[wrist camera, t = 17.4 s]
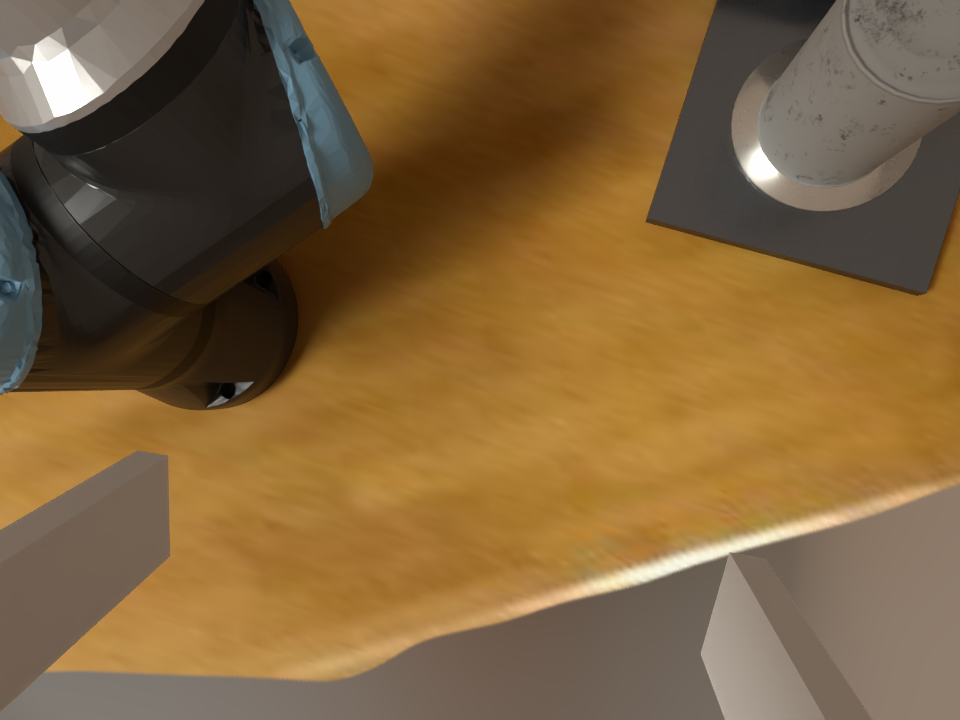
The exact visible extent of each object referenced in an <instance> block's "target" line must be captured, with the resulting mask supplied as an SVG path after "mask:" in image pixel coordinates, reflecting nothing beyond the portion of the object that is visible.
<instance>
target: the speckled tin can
mask: <svg viewBox="0 0 960 720" xmlns="http://www.w3.org/2000/svg"><path fill="white" fill-rule="evenodd" d="M959 112H960V0H836V1H835V3H834V4H833V6H832V7H831V8H830V10H829V11H828V12H827V14H826V15H825V17H824V18H823V19H822V21H821V22H820V23H819V25H818V26H817V27H816V29H815V30H814V32H813V33H812V34H811V36H810V37H809V38H808V40H807V41H806V42H805V44H804V45H803V47H802V48H801V49H800V51H799V52H798V53H797V55H796V56H795V57H794V59H793V60H792V62H791V63H790V64H789V66H788V67H787V68H786V70H785V71H784V73H783V74H782V75H781V77H780V78H779V79H778V80H777V81H776V82H775V83H774V84H773V85H772V87H771V88H770V90H769V91H768V92H767V94H766V95H765V97H764V99H763V102H762V104H761V106H760V109H759V114H758V120H757V131H758V139H759V142H760V145H761V148H762V151H763V153H764V155H765V156H766V158H767V159H768V161H769V163H770V164H771V165H772V166H773V167H774V168H775V169H776V170H777V171H778V172H779V173H780V174H782V175H784V176H785V177H787V178H789V179H790V180H792V181H794V182H797V183H800V184H803V185H805V186H810V187H818V188H831V187H840V186H844V185H847V184H850V183H854V182H856V181H858V180H860V179H862V178H863V177H865V176H867V175H869V174H870V173H871V172H873V171H874V170H875V169H876V168H877V167H878V166H880V165H881V164H883V163H884V162H886V161H887V160H889V159H890V158H892V157H893V156H895V155H896V154H898V153H899V152H901V151H902V150H904V149H905V148H907V147H908V146H910V145H911V144H913V143H914V142H916V141H917V140H919V139H920V138H922V137H923V136H924V135H926V134H927V133H929V132H930V131H932V130H933V129H935V128H936V127H938V126H939V125H941V124H942V123H944V122H945V121H947V120H948V119H950V118H951V117H953V116H954V115H956V114H957V113H959Z"/></svg>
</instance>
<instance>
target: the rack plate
mask: <svg viewBox="0 0 960 720" xmlns="http://www.w3.org/2000/svg"><path fill="white" fill-rule="evenodd" d="M835 1H836V0H717V2H716V5H715V8H714V11H713V14H712V17H711V20H710V23H709V26H708V30H707V33H706V36H705V39H704V42H703V45H702V48H701V51H700V54H699V57H698V61H697V64H696V67H695V70H694V73H693V76H692V79H691V82H690V85H689V88H688V92H687V95H686V98H685V101H684V104H683V107H682V110H681V113H680V116H679V120H678V123H677V126H676V129H675V132H674V135H673V138H672V141H671V144H670V147H669V151H668V154H667V157H666V160H665V163H664V166H663V169H662V172H661V175H660V178H659V182H658V185H657V188H656V191H655V194H654V197H653V200H652V203H651V206H650V209H649V213H648V216H647V219H646V222H647V223H651V224H655V225H658V226H662V227H666V228H670V229H673V230H677V231H681V232H684V233H688V234H692V235H695V236H699V237H703V238H706V239H710V240H714V241H718V242H721V243H725V244H729V245H732V246H736V247H740V248H743V249H747V250H751V251H754V252H758V253H762V254H765V255H769V256H773V257H777V258H780V259H784V260H788V261H791V262H795V263H799V264H802V265H806V266H810V267H813V268H817V269H821V270H825V271H828V272H832V273H836V274H839V275H843V276H847V277H850V278H854V279H858V280H861V281H865V282H869V283H872V284H876V285H880V286H884V287H887V288H891V289H895V290H898V291H902V292H906V293H909V294H913V295H917V296H918V295H922V294H926V293H927V290H928V287H929V284H930V280H931V277H932V274H933V271H934V268H935V265H936V262H937V259H938V256H939V253H940V249H941V246H942V243H943V240H944V237H945V234H946V231H947V228H948V225H949V222H950V218H951V215H952V212H953V209H954V206H955V203H956V200H957V197H958V194H959V191H960V112H959V113H957V114H956V115H954V116H953V117H951V118H950V119H948V120H947V121H945V122H944V123H942V124H941V125H939V126H938V127H936V128H935V129H933V130H932V131H930V132H929V133H927V134H926V135H924V136H923V137H922V138H920V139H919V140H917V141H916V142H914V143H913V144H911V145H910V146H908V147H907V148H905V149H904V150H902V151H901V152H899V153H898V154H896V155H895V156H893V157H892V158H890V159H889V160H887V161H886V162H884V163H883V164H881V165H880V166H878V167H877V168H876V169H875V170H874V171H873V172H871V173H870V174H869V175H867V176H865V177H863V178H862V179H860V180H858V181H856V182H854V183H850V184H847V185H844V186H840V187H831V188H818V187H810V186H805V185H803V184H800V183H797V182H794V181H792V180H790V179H789V178H787V177H785V176H784V175H782V174H780V173H779V172H778V171H777V170H776V169H775V168H774V167H773V166H772V165H771V164H770V163H769V161H768V159H767V158H766V156H765V155H764V153H763V151H762V148H761V145H760V142H759V139H758V131H757V120H758V114H759V109H760V106H761V104H762V102H763V99H764V97H765V95H766V94H767V92H768V91H769V90H770V88H771V87H772V85H773V84H774V83H775V82H776V81H777V80H778V79H779V78H780V77H781V75H782V74H783V73H784V71H785V70H786V68H787V67H788V66H789V64H790V63H791V62H792V60H793V59H794V57H795V56H796V55H797V53H798V52H799V51H800V49H801V48H802V47H803V45H804V44H805V42H806V41H807V40H808V38H809V37H810V36H811V34H812V33H813V32H814V30H815V29H816V27H817V26H818V25H819V23H820V22H821V21H822V19H823V18H824V17H825V15H826V14H827V12H828V11H829V10H830V8H831V7H832V6H833V4H834V3H835Z"/></svg>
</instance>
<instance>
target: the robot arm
mask: <svg viewBox="0 0 960 720" xmlns="http://www.w3.org/2000/svg"><path fill="white" fill-rule="evenodd" d="M0 114H1V116H2V117H3V118H4V119H5V121H6V122H7V123H9V124H10V125H11V126H13V127H14V128H15V129H17V130H18V131H20V132H21V133H22V134H24V135H23V136H22V137H20V138H19V139H18V140H16V141H15V142H13V143H12V144H11V145H9V146H8V147H7V148H5V149H4V150H3V151H1V152H0V395H3V393H9V392H43V391H93V390H137V391H139V392H141V393H143V394H146V395H148V396H150V397H153V398H155V399H157V400H159V401H162V402H164V403H166V404H169V405H171V406H175V407H178V408H183V409H189V410H214V409H224V408H230V407H234V406H237V405H240V404H243V403H245V402H247V401H249V400H251V399H253V398H254V397H256V396H257V395H259V394H260V393H262V392H263V391H264V390H265V389H266V388H268V387H269V386H270V385H271V384H272V383H273V382H274V380H275V379H276V378H277V377H278V375H279V374H280V373H281V371H282V370H283V368H284V367H285V365H286V363H287V361H288V359H289V357H290V354H291V352H292V349H293V346H294V342H295V338H296V332H297V322H298V314H297V305H296V299H295V295H294V291H293V288H292V286H291V283H290V281H289V279H288V277H287V275H286V273H285V271H284V270H283V268H282V267H281V266H280V264H279V263H278V262H277V261H276V258H278V257H279V256H281V255H282V254H284V253H285V252H287V251H288V250H290V249H291V248H293V247H294V246H295V245H297V244H298V243H300V242H301V241H303V240H304V239H306V238H307V237H309V236H310V235H312V234H313V233H315V232H316V231H318V230H319V229H320V228H321V229H324V230H325V229H326V228H328V227H329V225H330V224H331V222H332V219H334V218H335V217H336V216H338V215H339V214H340V213H342V212H343V211H344V210H346V209H347V208H348V207H350V206H351V205H352V204H353V203H355V202H356V201H357V200H359V199H360V198H361V197H363V196H364V195H365V194H366V192H367V191H368V190H369V188H370V186H371V183H372V179H373V175H374V170H373V162H372V159H371V157H370V154H369V152H368V150H367V148H366V146H365V144H364V142H363V140H362V138H361V136H360V134H359V132H358V130H357V128H356V126H355V124H354V122H353V120H352V118H351V116H350V114H349V112H348V110H347V108H346V106H345V105H344V103H343V101H342V99H341V97H340V95H339V93H338V91H337V89H336V88H335V86H334V84H333V82H332V80H331V78H330V76H329V74H328V73H327V71H326V69H325V67H324V65H323V63H322V62H321V60H320V58H319V56H318V55H317V53H316V51H315V50H314V47H313V45H312V43H311V41H310V39H309V38H308V36H307V34H306V32H305V30H304V28H303V26H302V24H301V22H300V20H299V18H298V16H297V14H296V13H295V11H294V9H293V7H292V5H291V3H290V1H289V0H0ZM169 557H170V533H169V485H168V456H166V455H160V454H154V453H148V452H142V451H136V452H134V453H132V454H131V455H129V456H127V457H126V458H124V459H122V460H120V461H119V462H117V463H115V464H114V465H112V466H110V467H108V468H107V469H105V470H103V471H101V472H100V473H98V474H96V475H95V476H93V477H91V478H89V479H88V480H86V481H84V482H83V483H81V484H79V485H77V486H76V487H74V488H72V489H70V490H69V491H67V492H65V493H64V494H62V495H60V496H58V497H57V498H55V499H53V500H52V501H50V502H48V503H46V504H45V505H43V506H41V507H39V508H38V509H36V510H34V511H33V512H31V513H29V514H27V515H26V516H24V517H22V518H21V519H19V520H17V521H15V522H14V523H12V524H10V525H8V526H7V527H5V528H3V529H2V530H0V712H1V711H2V710H3V709H4V708H5V707H6V706H7V705H8V704H9V703H11V702H12V701H13V700H14V699H15V698H16V697H17V696H18V695H19V694H20V693H21V692H23V691H24V690H25V689H26V688H27V687H28V686H29V685H30V684H31V683H32V682H33V681H35V680H36V679H37V678H38V677H39V676H40V675H41V674H42V673H43V672H44V671H45V670H47V669H48V668H49V667H50V666H51V665H52V664H53V663H54V662H55V661H56V660H57V659H59V658H60V657H61V656H62V655H63V654H64V653H65V652H66V651H67V650H68V649H69V648H71V647H72V646H73V645H74V644H75V643H76V642H77V641H78V640H79V639H80V638H81V637H82V636H84V635H85V634H86V633H87V632H88V631H89V630H90V629H91V628H92V627H93V626H94V625H96V624H97V623H98V622H99V621H100V620H101V619H102V618H103V617H104V616H105V615H106V614H108V613H109V612H110V611H111V610H112V609H113V608H114V607H115V606H116V605H117V604H118V603H120V602H121V601H122V600H123V599H124V598H125V597H126V596H127V595H128V594H129V593H130V592H131V591H133V590H134V589H135V588H136V587H137V586H138V585H139V584H140V583H141V582H142V581H143V580H145V579H146V578H147V577H148V576H149V575H150V574H151V573H152V572H153V571H154V570H155V569H157V568H158V567H159V566H160V565H161V564H162V563H163V562H164V561H165V560H166V559H167V558H169ZM701 656H702V659H703V661H704V664H705V667H706V670H707V672H708V675H709V678H710V680H711V683H712V686H713V688H714V691H715V694H716V697H717V699H718V702H719V705H720V707H721V710H722V712H723V715H724V718H725V720H872V718H871V717H870V716H869V714H868V712H867V711H866V710H865V708H864V706H863V705H862V704H861V702H860V700H859V699H858V697H857V696H856V694H855V693H854V691H853V690H852V688H851V687H850V686H849V684H848V682H847V681H846V680H845V678H844V676H843V675H842V673H841V672H840V671H839V669H838V668H837V666H836V664H835V663H834V662H833V660H832V658H831V657H830V655H829V654H828V653H827V651H826V649H825V648H824V646H823V645H822V644H821V642H820V640H819V639H818V637H817V636H816V634H815V633H814V631H813V630H812V628H811V627H810V625H809V624H808V622H807V621H806V619H805V618H804V616H803V615H802V613H801V612H800V610H799V609H798V607H797V606H796V604H795V603H794V601H793V600H792V598H791V597H790V595H789V594H788V592H787V591H786V589H785V588H784V586H783V585H782V583H781V582H780V580H779V579H778V577H777V576H776V574H775V573H774V571H773V570H772V568H771V567H770V565H769V564H768V562H767V561H766V559H765V558H760V557H754V556H748V555H742V554H737V553H731V552H730V553H729V557H728V560H727V564H726V567H725V571H724V574H723V578H722V581H721V585H720V588H719V592H718V595H717V599H716V602H715V606H714V609H713V612H712V616H711V619H710V623H709V626H708V630H707V633H706V637H705V640H704V644H703V647H702V651H701Z"/></svg>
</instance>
